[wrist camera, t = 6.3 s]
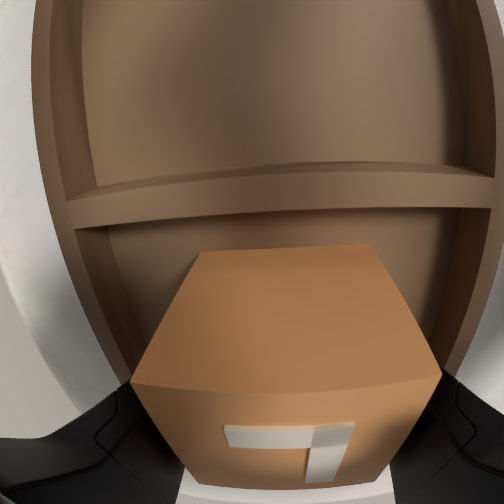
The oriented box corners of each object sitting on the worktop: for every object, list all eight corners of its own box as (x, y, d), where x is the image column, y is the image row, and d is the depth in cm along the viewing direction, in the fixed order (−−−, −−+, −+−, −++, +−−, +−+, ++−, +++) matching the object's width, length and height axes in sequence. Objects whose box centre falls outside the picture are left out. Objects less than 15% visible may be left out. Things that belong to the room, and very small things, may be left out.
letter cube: (370, 244, 8) (445, 379, 3) (354, 364, 10) (375, 484, 5) (200, 252, 9) (126, 387, 4) (224, 368, 11) (197, 486, 6)
